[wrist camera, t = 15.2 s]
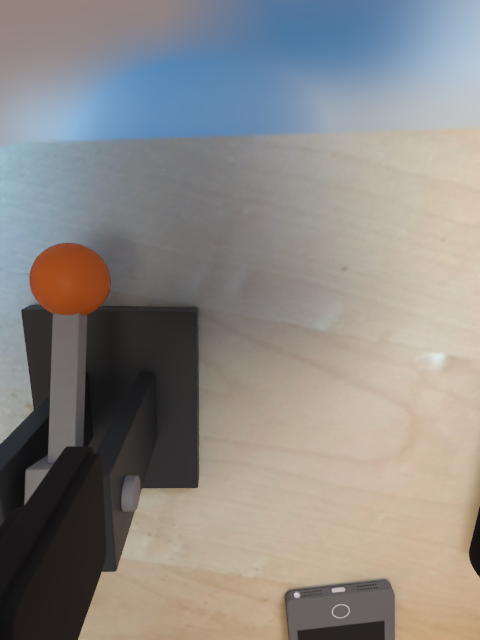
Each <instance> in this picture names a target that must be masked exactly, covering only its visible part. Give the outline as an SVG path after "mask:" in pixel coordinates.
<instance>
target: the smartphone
mask: <svg viewBox="0 0 480 640" xmlns="http://www.w3.org/2000/svg"><path fill="white" fill-rule="evenodd" d="M286 609H287V619H288V629H289V640H395V595H394V592H393V589H392V587H391V585H390V583H389V582H388V581H378V582H369V583H360V584H352V585H343V586H334V587H325V588H317V589H308V590H299V591H290V592H288V593H287V595H286Z"/></svg>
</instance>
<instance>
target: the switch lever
mask: <svg viewBox="0 0 480 640" xmlns="http://www.w3.org/2000/svg"><path fill="white" fill-rule="evenodd" d="M110 285H111V278H110V273H109V270H108V267H107V265H106V263H105V262H104V260H103V259H102V258H101V257H100V256H99V255H98V254H97V253H96V252H95V251H93V250H92V249H90V248H88V247H86V246H83V245H80V244H75V243H62V244H57V245H54V246H52V247H49V248H48V249H46V250H44V251H43V252H42V253H41V254H40V255H39V256H38V257H37V258H36V260H35V261H34V263H33V265H32V268H31V271H30V287H31V290H32V293H33V295H34V297H35V298H36V300H37V301H38V303H39V304H40V305H41V306H42V307H43V308H45V309H46V310H48V311H49V312H51V313H53V325H52V355H51V384H50V413H49V442H48V455H47V456H46V457H44V458H43V459H41V460H39V461H38V462H36V463H35V464H33V465H32V466H30V467H29V468H27V469H26V472H25V499H24V505H25V504H26V503H27V501H28V500H29V498H30V497H31V496H32V494H33V493H34V491H35V490H36V488H37V487H38V486H39V484H40V483H41V481H42V480H43V478H44V477H45V476H46V474H47V473H48V471H49V470H50V468H51V467H52V466H53V464H54V463H55V461H56V460H57V458H58V457H59V456H60V454H61V453H62V451H63V450H64V449H65V448H66V447H68V446H79V447H83V439H84V406H85V373H86V340H87V315H88V314H90V313H92V312H94V311H95V310H97V309H98V308H99V307H100V306H101V305H102V304H103V303H104V301H105V300H106V298H107V296H108V294H109V291H110ZM94 453H95V452H94Z"/></svg>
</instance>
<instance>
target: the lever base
mask: <svg viewBox="0 0 480 640" xmlns="http://www.w3.org/2000/svg"><path fill="white" fill-rule="evenodd" d="M22 319H23V327H24V335H25V343H26V351H27V359H28V366H29V374H30V382H31V390H32V398H33V406H34V411H33V412H32V413H31V414H30V415H29V416H28V417H27V418H26V419H25V420H24V421H23V422H22V423H21V424H20V425H19V426H18V427H17V428H16V429H15V430H14V431H13V432H12V433H11V434H10V435H9V436H8V437H7V438H6V439H5V440H4V441H3V442H2V443H1V444H0V526H1V525H2V524H3V522H4V521H5V519H6V518H7V517H8V515H9V514H10V513H11V512H12V511H13V510H14V509H16V508H18V507H24V499H25V472H26V469H27V468H29V467H30V466H32V465H33V464H35V463H36V462H38V461H39V460H41V459H43V458H44V457H46V456H47V455H48V442H49V413H50V384H51V355H52V325H53V313H51V312H49V311H48V310H46V309H45V308H43V307H42V306H41V305H31V306H29V307H26V308H24V309H22ZM83 447H93V449H94V452H95V453H100V454H101V456H102V466H103V487H104V507H105V528H106V558H105V563H104V566H103V569H102V572H113V571H116V570H117V567H118V564H119V560H120V557H121V554H122V551H123V547H124V544H125V541H126V538H127V535H128V531H129V528H130V525H131V522H132V518H133V515H134V512H135V510H136V509H137V506H138V502H139V496H140V492H141V489H142V488H197V487H198V482H199V372H198V308H193V307H124V306H100V307H99V308H98V309H97V310H95V311H94V312H92V313H90V314H88V315H87V340H86V373H85V406H84V439H83Z"/></svg>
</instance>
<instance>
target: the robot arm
mask: <svg viewBox="0 0 480 640" xmlns="http://www.w3.org/2000/svg"><path fill="white" fill-rule="evenodd" d="M469 557H470V561H471V564H472V566H473V568H474V570H475V571H476V573H477V574H478V576H479V577H480V508H479V512H478V516H477V520H476V525H475V529H474V533H473V537H472V541H471V546H470V550H469ZM105 558H106V528H105V507H104V487H103V466H102V456H101V454H100V453H94V449H93V447H79V446H68V447H66V448H65V449H64V450H63V451H62V453H61V454H60V456H59V457H58V458H57V460H56V461H55V463H54V464H53V466H52V467H51V468H50V470H49V471H48V473H47V474H46V476H45V477H44V478H43V480H42V481H41V483H40V484H39V486H38V487H37V488H36V490H35V491H34V493H33V494H32V496H31V497H30V498H29V500H28V501H27V503H26V504H25V505H24V507H18V508H16V509H14V510H13V511H12V512H11V513H10V514H9V515H8V517H7V518H6V519H5V521H4V522H3V524H2V525H1V526H0V640H78V637H79V635H80V632H81V629H82V626H83V623H84V620H85V617H86V615H87V612H88V609H89V606H90V603H91V600H92V598H93V595H94V592H95V589H96V586H97V583H98V581H99V578H100V575H101V572H102V569H103V566H104V563H105Z"/></svg>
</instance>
